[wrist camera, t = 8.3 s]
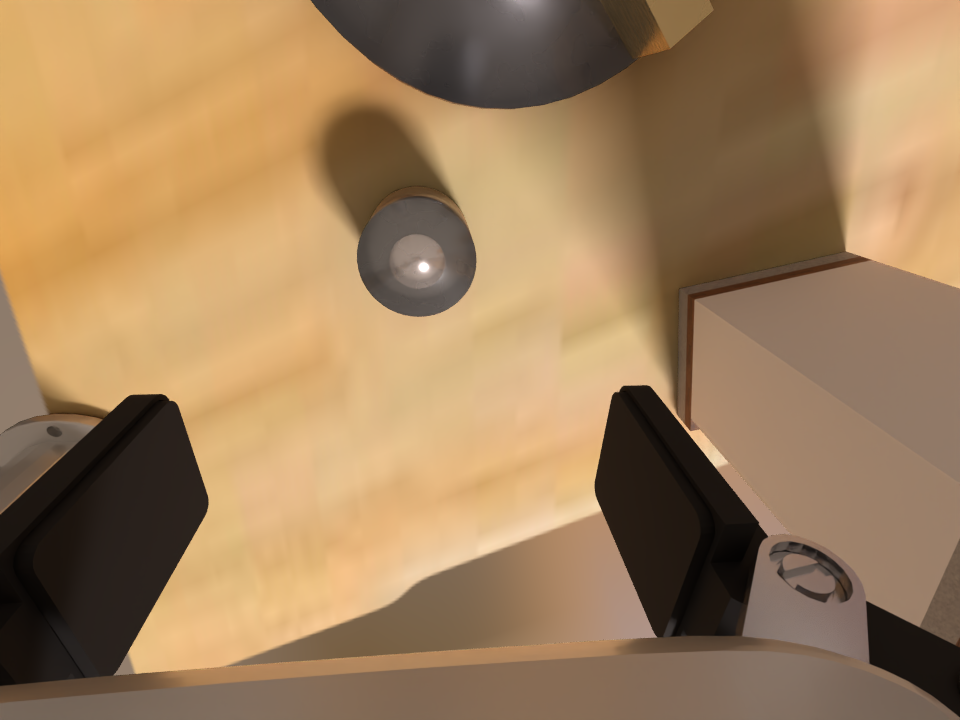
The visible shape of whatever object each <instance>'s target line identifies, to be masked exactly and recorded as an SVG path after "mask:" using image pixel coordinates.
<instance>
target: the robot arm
mask: <svg viewBox="0 0 960 720" xmlns="http://www.w3.org/2000/svg"><path fill="white" fill-rule="evenodd" d="M595 494H596V497H597V500H598V502H599V505H600V507H601V510H602V512H603V514H604V516H605V519H606V521H607V524H608V526H609V528H610V531H611V533H612V535H613V538H614V540H615V542H616V545H617V547H618V549H619V552H620V554H621V556H622V559H623V561H624V563H625V566H626V568H627V571H628V573H629V575H630V578H631V580H632V582H633V585H634V587H635V589H636V591H637V594H638V596H639V599H640V601H641V603H642V606H643V608H644V611H645V613H646V615H647V618H648V620H649V622H650V624H651V627H652V629H653V631H654V633H655V635H656V636H657V637H658V638H640V639H620V640H599V641H584V642H570V643H554V644H540V645H524V646H510V647H495V648H481V649H480V648H479V649H465V650H452V651H451V650H450V651H436V652H422V653H408V654H394V655H380V656H368V657H367V656H366V657H353V658H340V659H325V660H312V661H299V662H285V663H271V664H257V665H244V666H232V667H219V668H206V669H193V670H180V671H167V672H154V673H142V674H129V675H116V676H113V675H114V674H115V673H116V671H117V670H118V668H119V667H120V665H121V663H122V661H123V660H124V658H125V656H126V654H127V653H128V651H129V649H130V647H131V646H132V644H133V642H134V640H135V639H136V637H137V635H138V633H139V631H140V630H141V628H142V626H143V624H144V623H145V621H146V619H147V617H148V616H149V614H150V612H151V610H152V609H153V607H154V605H155V603H156V601H157V600H158V598H159V596H160V594H161V593H162V591H163V589H164V587H165V586H166V584H167V582H168V580H169V579H170V577H171V575H172V573H173V571H174V570H175V568H176V566H177V564H178V563H179V561H180V559H181V557H182V556H183V554H184V552H185V550H186V549H187V547H188V545H189V543H190V541H191V540H192V538H193V536H194V534H195V533H196V531H197V529H198V527H199V526H200V524H201V522H202V520H203V519H204V517H205V515H206V513H207V509H208V495H207V492H206V489H205V486H204V483H203V480H202V477H201V474H200V471H199V468H198V465H197V462H196V459H195V456H194V453H193V450H192V447H191V444H190V441H189V438H188V434H187V431H186V428H185V425H184V422H183V419H182V416H181V413H180V410H179V407H178V405H177V404H176V403H175V402H174V401H169V399H168V398H167V397H166V396H165V395H163V394H148V395H130V396H128V397H127V398H125V399H124V400H123V401H122V402H121V403H120V404H119V405H118V406H117V407H116V408H115V409H114V410H113V411H111V412H110V413H109V414H108V415H107V416H106V417H105V418H104V419H100V418H96V417H91V416H84V415H77V414H50V415H43V416H36V417H33V418H30V419H27V420H24V421H21V422H19V423H17V424H15V425H14V426H12V427H10V428H9V429H7V430H6V431H4V432H3V433H2V434H1V435H0V720H960V647H958V646H956V645H954V644H952V643H950V642H948V641H946V640H944V639H942V638H940V637H938V636H936V635H934V634H932V633H930V632H928V631H926V630H924V629H922V628H920V627H918V626H916V625H914V624H912V623H910V622H908V621H906V620H904V619H902V618H900V617H898V616H896V615H894V614H892V613H890V612H888V611H886V610H884V609H882V608H880V607H878V606H876V605H874V604H872V603H870V602H868V601H866V595H865V591H864V588H863V584H862V582H861V581H860V579H859V578H858V576H857V575H856V573H855V572H854V570H853V569H852V568H851V567H850V566H849V565H848V564H847V563H845V562H844V561H843V560H842V559H841V558H840V557H838V556H837V555H836V554H834V553H833V552H831V551H830V550H829V549H827V548H825V547H823V546H821V545H819V544H817V543H815V542H813V541H811V540H808V539H805V538H802V537H799V536H795V535H787V534H778V535H771V536H769V537H768V536H767V534H766V533H765V532H764V531H763V529H762V528H761V527H760V526H759V522H758V521H757V520H756V518H755V517H754V516H753V515H752V513H751V512H750V511H749V509H748V508H747V507H746V506H745V504H744V503H743V502H742V501H741V500H740V498H739V497H738V496H737V494H736V493H735V492H734V491H733V489H732V488H731V487H730V486H729V484H728V483H727V482H726V481H725V479H724V478H723V477H722V476H721V474H720V473H719V472H718V471H717V469H716V468H715V467H714V466H713V464H712V463H711V462H710V461H709V459H708V458H707V457H706V456H705V454H704V453H703V452H702V450H701V449H700V448H699V447H698V445H697V444H696V443H695V442H694V440H693V439H692V438H691V437H690V435H689V434H688V433H687V432H686V430H685V429H684V428H683V427H682V425H681V424H680V423H679V422H678V420H677V419H676V418H675V417H674V415H673V414H672V413H671V412H670V410H669V409H668V408H667V407H666V405H665V404H664V403H663V402H662V400H661V399H660V398H659V397H658V395H657V394H656V393H655V391H654V390H653V389H652V388H651V387H650V386H647V385H642V386H623V387H622V388H621V389H620V391H619V392H615V393H614V394H613V395H612V399H611V404H610V409H609V414H608V419H607V424H606V429H605V434H604V439H603V444H602V449H601V454H600V459H599V464H598V469H597V474H596V479H595Z"/></svg>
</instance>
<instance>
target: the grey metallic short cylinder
mask: <svg viewBox="0 0 960 720" xmlns="http://www.w3.org/2000/svg"><path fill="white" fill-rule="evenodd" d="M357 263H358V269H359V273H360V276H361V278H362V281H363V283H364V285H365V286H366V288H367V290H368V291H369V292H370V293H371V295H372V296H373V297H374V298H375V299H376V300H377V301H378V302H380V303H381V304H382V305H383V306H385V307H387V308H388V309H390V310H392V311H394V312H397V313H400V314H403V315H408V316H417V317H421V316H430V315H435V314H438V313H441V312H443V311H445V310H447V309H449V308H450V307H452V306H453V305H455V304H456V303H457V302H458V301H459V300H460V299H461V298H462V297H463V296H464V295H465V293H466V292H467V291H468V289H469V287H470V285H471V283H472V281H473V278H474V274H475V270H476V252H475V246H474V243H473V240H472V237H471V234H470V231H469V228H468V225H467V222H466V220H465V217H464V215H463V213H462V212H461V210H460V209H459V207H458V206H457V205H456V204H455V202H454V201H452V200H451V199H450V198H449V197H448V196H446V195H445V194H443V193H441V192H440V191H437V190H435V189H432V188H428V187H422V186H411V187H405V188H402V189H399V190H397V191H395V192H393V193H391V194H390V195H388V196H387V197H386V198H384V199H383V200H382V201H381V202H380V204H379V205H378V206H377V208H376V209H375V211H374V213H373V215H372V216H371V218H370V220H369V222H368V223H367V225H366V227H365V228H364V230H363V232H362V235H361V237H360V240H359V244H358V250H357Z"/></svg>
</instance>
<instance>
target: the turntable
mask: <svg viewBox="0 0 960 720" xmlns="http://www.w3.org/2000/svg"><path fill="white" fill-rule="evenodd" d="M311 1H312V3H313V4H314V5H315V7H316V8H317V9H318V10H319V11H320V12H321V13H322V14H323V15H324V17H325V18H326V19H327V20H328V21H329V22H330V23H331V24H332V25H333V26H334V27H335V29H336V30H337V31H338V32H339V33H340V34H341V35H342V36H343V37H344V38H345V39H346V40H347V41H348V42H349V43H351V44H352V45H353V46H354V47H355V48H356V49H358V50H359V51H360V52H361V53H362V54H363V55H364V56H366V57H367V58H368V59H369V60H370V61H371V62H372V63H374V64H375V65H376V66H378V67H379V68H381V69H382V70H384V71H385V72H387V73H388V74H390V75H391V76H393V77H394V78H396V79H397V80H399V81H400V82H402V83H404V84H406V85H408V86H410V87H412V88H414V89H416V90H418V91H420V92H422V93H424V94H426V95H429V96H432V97H435V98H438V99H441V100H444V101H447V102H450V103H453V104H458V105H464V106H470V107H475V108H481V109H515V108H523V107H531V106H539V105H545V104H548V103H552V102H555V101H559V100H562V99H566V98H569V97H572V96H575V95H577V94H579V93H581V92H584V91H586V90H588V89H590V88H593V87H595V86H597V85H599V84H601V83H603V82H604V81H606V80H608V79H609V78H611V77H612V76H614V75H616V74H617V73H619V72H621V71H622V70H624V69H625V68H627V67H628V66H629V65H631V64H632V63H633V62H634V61H636V60H637V59H638V58H639V57H643V56H646V55H650V54H654V53H657V52H661V51H664V50H668V49H671V48H672V47H673V46H674V45H675V44H676V43H678V42H679V41H680V40H681V39H682V38H683V37H684V36H685V35H687V34H688V33H689V32H690V31H691V30H692V29H693V28H694V27H695V26H697V25H698V24H699V23H700V22H701V21H702V20H703V19H704V18H706V17H707V16H708V15H709V14H710V13H711V12H712V11H713V10H714V9H713V7H712V5H711V3H710V0H311Z"/></svg>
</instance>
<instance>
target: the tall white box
mask: <svg viewBox="0 0 960 720" xmlns="http://www.w3.org/2000/svg"><path fill="white" fill-rule="evenodd" d="M678 417H679V418H680V419H681V420H682V421H683V423H684V424H685V425H686V426H687V427H688V429H689V430H690V431H693V430H698V429H700V430H701V431H702V432H703V433H704V434H705V436H706V437H707V438H708V439H709V440H710V441H711V443H712V444H713V445H714V446H715V447H716V448H717V449H718V451H719V452H720V453H721V454H722V455H723V456H724V458H725V459H726V460H727V461H728V462H729V463H730V465H731V466H732V467H733V468H734V469H735V470H736V472H737V473H738V474H739V475H740V476H741V477H742V478H743V480H745V482H746V483H747V484H748V485H749V487H750V488H751V489H752V490H753V491H754V492H755V493H756V495H757V496H758V497H759V498H760V499H761V501H762V502H763V503H764V504H765V505H766V506H767V507H768V508H769V510H770V511H771V512H772V513H773V514H774V515H775V517H776V518H777V519H778V520H779V521H780V523H781V524H782V525H783V526H784V527H785V528H786V530H787V531H788V532H789V533H790V534H791V535H795V536H799V537H802V538H805V539H808V540H811V541H813V542H815V543H817V544H819V545H821V546H823V547H825V548H827V549H829V550H830V551H831V552H833V553H834V554H836V555H837V556H838V557H840V558H841V559H842V560H843V561H844V562H845V563H847V564H848V565H849V566H850V567H851V568H852V569H853V570H854V572H855V573H856V575H857V576H858V578H859V579H860V581H861V582H862V584H863V588H864V591H865V595H866V601H868V602H870V603H872V604H874V605H876V606H878V607H880V608H882V609H884V610H886V611H888V612H890V613H892V614H894V615H896V616H898V617H900V618H902V619H904V620H906V621H908V622H910V623H912V624H914V625H916V626H918V627H920V628H922V629H924V630H926V631H928V632H930V633H932V634H934V635H936V636H938V637H940V638H942V639H944V640H946V641H948V642H950V643H952V644H954V645H956V646H958V647H960V289H959V288H956V287H953V286H950V285H947V284H944V283H941V282H938V281H934V280H931V279H928V278H925V277H922V276H919V275H916V274H913V273H910V272H907V271H904V270H901V269H898V268H895V267H892V266H888V265H885V264H882V263H879V262H876V261H873V260H870V259H867V258H864V257H861V256H858V255H855V254H852V253H849V252H842V253H838V254H833V255H829V256H824V257H820V258H815V259H811V260H806V261H802V262H797V263H793V264H788V265H784V266H779V267H775V268H770V269H766V270H761V271H757V272H752V273H748V274H743V275H739V276H734V277H730V278H726V279H721V280H717V281H712V282H708V283H703V284H699V285H694V286H690V287H685V288H681V289H679V338H678Z"/></svg>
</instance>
